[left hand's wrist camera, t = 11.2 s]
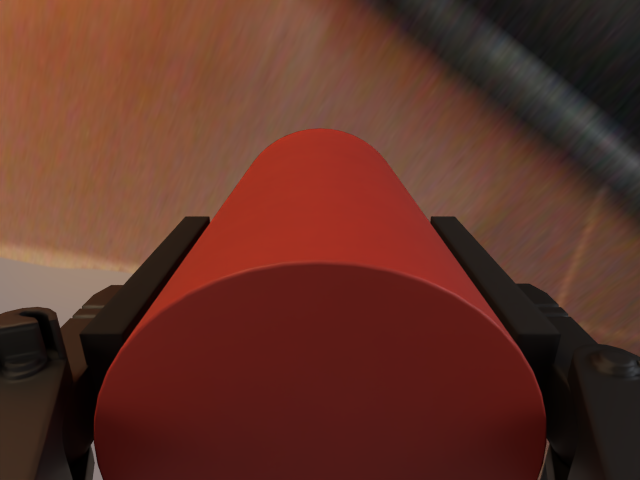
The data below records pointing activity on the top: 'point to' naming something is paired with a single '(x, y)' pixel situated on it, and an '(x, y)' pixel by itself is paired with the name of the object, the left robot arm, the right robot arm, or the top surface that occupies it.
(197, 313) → the canister
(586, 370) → the left robot arm
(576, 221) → the top surface
